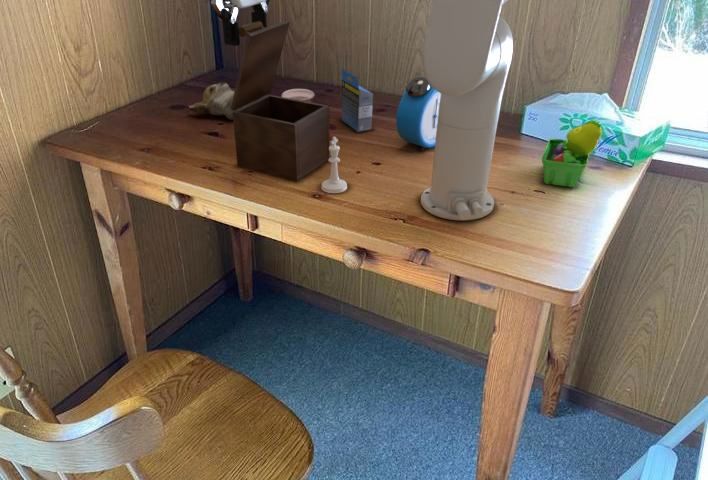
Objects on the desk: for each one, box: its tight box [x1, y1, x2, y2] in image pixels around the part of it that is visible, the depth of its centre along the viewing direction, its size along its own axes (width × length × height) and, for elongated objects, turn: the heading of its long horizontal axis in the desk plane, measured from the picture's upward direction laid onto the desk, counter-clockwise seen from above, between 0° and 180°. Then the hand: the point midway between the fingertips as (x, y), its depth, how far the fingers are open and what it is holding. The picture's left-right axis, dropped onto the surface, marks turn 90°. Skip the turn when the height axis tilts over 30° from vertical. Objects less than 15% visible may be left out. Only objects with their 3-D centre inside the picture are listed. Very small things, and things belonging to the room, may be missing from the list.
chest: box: [232, 94, 331, 182], centre depth 123 cm, size 15×12×11 cm
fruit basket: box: [541, 119, 603, 188], centre depth 113 cm, size 11×9×11 cm
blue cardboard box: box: [341, 67, 374, 133], centre depth 139 cm, size 9×4×12 cm, turn 22°
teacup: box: [281, 88, 315, 102], centre depth 144 cm, size 12×12×6 cm
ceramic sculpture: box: [185, 80, 244, 121], centre depth 148 cm, size 11×9×15 cm
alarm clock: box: [395, 75, 441, 152], centre depth 127 cm, size 13×6×15 cm, turn 133°
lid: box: [231, 19, 291, 111], centre depth 118 cm, size 16×12×5 cm
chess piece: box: [320, 136, 348, 194], centre depth 113 cm, size 5×5×10 cm
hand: (246, 39), depth 116 cm, fingers open, 8 cm apart
